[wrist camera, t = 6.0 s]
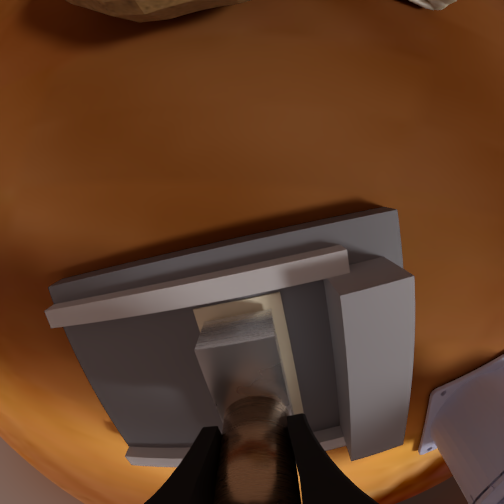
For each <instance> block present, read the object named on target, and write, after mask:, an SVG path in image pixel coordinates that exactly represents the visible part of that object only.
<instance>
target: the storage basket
mask: <svg viewBox="0 0 504 504" xmlns="http://www.w3.org/2000/svg"><path fill="white" fill-rule="evenodd" d="M408 1H410V2H413V3H415V4H417V5H419V6H421V7H424V8H427V9H430V10H442V9H444V8H445V7H447V6H448V4H451V3H453V2H455V1H457V0H408Z"/></svg>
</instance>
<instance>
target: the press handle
mask: <svg viewBox="0 0 504 504" xmlns="http://www.w3.org/2000/svg"><path fill="white" fill-rule="evenodd" d="M194 351H195V354H196V357H197V359H198V362H199V365H200V367H201V370H202V373H203V375H204V378H205V381H206V383H207V386H208V388H209V391H210V393H211V396H212V398H213V401H214V403H215V406H216V408H217V411H218V413H219V415H220V418H221V420H222V422H223V429H222V437H221V446H220V454H219V462H218V471H217V479H216V487H215V496H214V504H301V498H300V490H299V483H298V475H297V467H296V460H295V456H294V452H293V448H292V444H291V440H290V436H289V432H288V425H287V416H290V415H294V412H293V407H292V402H291V398H290V393H289V389H288V384H287V379H286V375H285V370H284V366H283V361H282V357H281V352H280V347H279V343H278V338H277V334H276V329H275V325H274V320H273V316H272V311H271V309H267V310H262V311H257V312H252V313H247V314H242V315H237V316H232V317H226V318H221V319H215V320H210V321H204V324H203V327H202V329H201V332H200V335H199V338H198V341H197V344H196V347H195V350H194Z"/></svg>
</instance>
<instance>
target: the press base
mask: <svg viewBox="0 0 504 504" xmlns="http://www.w3.org/2000/svg"><path fill="white" fill-rule="evenodd" d="M48 289H49V292H50V295H51V297H52V300H53V303H54V305H52V306H51V307H49V308H48V309H46V310H45V311H44V312H45V314H46V317H47V319H48V322H49V324H50V327H51V328H57V327H63V328H64V330H65V333H66V335H67V337H68V339H69V342H70V344H71V346H72V348H73V350H74V352H75V355H76V357H77V359H78V361H79V363H80V365H81V367H82V369H83V371H84V373H85V375H86V377H87V378H88V380H89V382H90V384H91V386H92V388H93V390H94V391H95V393H96V395H97V397H98V398H99V400H100V402H101V404H102V405H103V407H104V409H105V410H106V412H107V414H108V415H109V417H110V418H111V420H112V422H113V423H114V425H115V426H116V428H117V429H118V431H119V432H120V434H121V435H122V437H123V438H124V440H125V441H126V443H127V444H128V446H129V448H128V451H127V453H126V455H125V457H126V458H127V460H128V461H129V462H130V463H131V465H139V466H155V467H178V465H179V464H180V463H181V461H182V460H183V458H184V457H185V455H186V454H187V452H188V451H189V449H190V447H191V446H192V444H193V443H194V441H195V439H196V438H197V436H198V434H199V433H200V431H201V429H202V428H203V427H210V426H218V428H219V430H220V432H221V434H222V429H223V422H222V420H221V418H220V415H219V413H218V411H217V408H216V406H215V403H214V401H213V398H212V396H211V393H210V391H209V388H208V386H207V383H206V381H205V378H204V375H203V373H202V370H201V367H200V365H199V362H198V359H197V357H196V354H195V351H194V350H195V347H196V344H197V341H198V338H199V335H200V332H201V329H202V327H203V324H204V321H210V320H215V319H221V318H226V317H232V316H237V315H242V314H247V313H252V312H257V311H262V310H267V309H271V311H272V316H273V320H274V325H275V329H276V334H277V338H278V343H279V347H280V352H281V357H282V361H283V366H284V370H285V375H286V379H287V384H288V389H289V393H290V398H291V402H292V407H293V412H294V415H295V414H300V413H303V414H305V415H306V418H307V421H308V423H309V425H310V428H311V430H312V431H313V433H314V435H315V437H316V438H317V440H318V442H319V443H320V445H321V446H322V447H323V449H324V450H325V451H327V450H331V449H335V448H339V447H343V446H347V449H348V452H349V456H350V459H351V461H354V460H357V459H361V458H364V457H368V456H371V455H374V454H377V453H380V452H383V451H386V450H389V449H392V448H394V447H397V446H400V445H403V441H404V436H405V430H406V424H407V417H408V410H409V402H410V394H411V384H412V373H413V360H414V340H415V282H414V275H412V274H411V273H409V272H408V271H406V270H404V269H403V260H402V248H401V238H400V229H399V220H398V213H397V210H396V209H392V208H387V207H381V208H376V209H371V210H366V211H361V212H356V213H351V214H346V215H341V216H336V217H331V218H327V219H322V220H317V221H312V222H307V223H303V224H298V225H293V226H289V227H284V228H279V229H275V230H270V231H265V232H261V233H256V234H252V235H247V236H243V237H238V238H234V239H229V240H225V241H220V242H216V243H211V244H207V245H202V246H198V247H194V248H189V249H185V250H181V251H176V252H172V253H168V254H163V255H159V256H155V257H151V258H146V259H142V260H138V261H134V262H129V263H125V264H121V265H117V266H113V267H109V268H105V269H100V270H96V271H92V272H88V273H84V274H80V275H76V276H72V277H68V278H64V279H61V280H59V281H58V282H56V283H54V284H52V285H51V286H49V287H48Z"/></svg>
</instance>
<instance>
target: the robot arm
mask: <svg viewBox="0 0 504 504" xmlns="http://www.w3.org/2000/svg"><path fill="white" fill-rule="evenodd" d="M287 425H288V432H289V436H290V440H291V444H292V448H293V452H294V456H295V460H296V464H297V468H298V472H299V476H300V483H301V492H302V501H303V504H379V503H377V502H376V501H375V500H373V499H372V498H371V497H369V496H368V495H367V494H365V493H364V492H363V491H362V490H360V489H359V488H358V487H357V486H356V485H355V484H354V483H353V482H352V481H351V480H350V479H349V478H348V477H347V476H346V475H345V474H344V473H343V472H342V471H341V470H340V469H339V468H338V467H337V466H336V464H335V463H334V462H333V461H332V460H331V458H330V457H329V456H328V454H327V453H326V452H325V450H324V449H323V447H322V446H321V445H320V443H319V442H318V440H317V438H316V437H315V435H314V433H313V431H312V430H311V428H310V425H309V423H308V421H307V418H306V415H305V414H303V413H300V414H295V415H290V416H287ZM221 437H222V434H221V432H220V430H219V428H218V426H210V427H203V428H202V429H201V431H200V433H199V434H198V436H197V438H196V439H195V441H194V443H193V444H192V446H191V447H190V449H189V451H188V452H187V454H186V455H185V457H184V458H183V460H182V461H181V463H180V464H179V465H178V467H177V468H176V469H175V471H174V472H173V473H172V475H171V476H170V477H169V478H168V480H167V481H166V482H165V483H164V484H163V485H162V487H161V488H160V489H159V490H158V491H157V492H156V493H155V494H154V495H153V496H152V497H151V498H150V499H149V500H147V501H146V502H145V503H144V504H214V496H215V487H216V479H217V471H218V462H219V454H220V446H221ZM436 448H438V450H439V452H440V453H441V455H442V457H443V458H444V460H445V462H446V464H447V465H448V467H449V469H450V470H451V472H452V474H453V476H454V478H455V479H456V481H457V483H458V485H459V486H460V488H461V490H462V492H463V494H464V496H465V497H466V499H467V501H468V503H469V504H504V354H503V355H501V356H500V357H498V358H496V359H494V360H493V361H491V362H489V363H487V364H485V365H483V366H482V367H480V368H478V369H476V370H474V371H472V372H470V373H468V374H466V375H464V376H462V377H460V378H458V379H456V380H454V381H452V382H449V383H447V384H445V385H443V386H441V387H438V388H436V389H434V390H433V391H432V392H431V394H430V399H429V404H428V410H427V415H426V420H425V424H424V429H423V433H422V437H421V442H420V446H419V449H418V452H419V454H420V455H422V454H425V453H427V452H430V451H432V450H434V449H436Z"/></svg>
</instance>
